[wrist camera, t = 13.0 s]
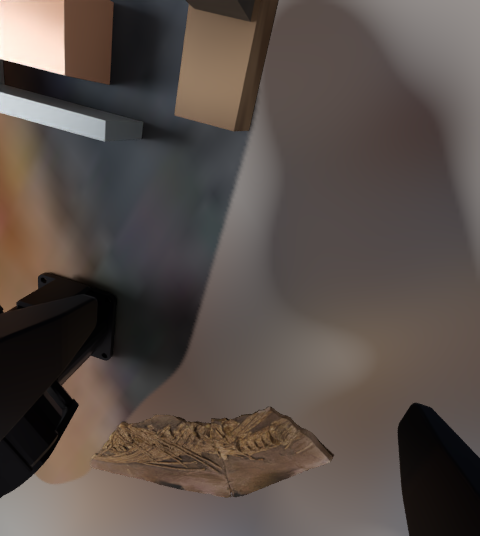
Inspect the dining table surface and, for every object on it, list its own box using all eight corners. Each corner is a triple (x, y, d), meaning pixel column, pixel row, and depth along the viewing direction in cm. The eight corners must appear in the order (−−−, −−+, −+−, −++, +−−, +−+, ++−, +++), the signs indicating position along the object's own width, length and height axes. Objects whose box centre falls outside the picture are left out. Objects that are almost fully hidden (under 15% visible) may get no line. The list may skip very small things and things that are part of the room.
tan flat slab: (318, 400, 26) (318, 411, 25) (342, 493, 29) (343, 505, 29) (64, 415, 33) (57, 423, 32) (108, 487, 37) (103, 496, 36)
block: (110, 84, 20) (64, 75, 16) (50, 69, 20) (-8, 56, 16) (114, 3, 18) (63, -29, 14) (48, -12, 18) (-17, -47, 15)
